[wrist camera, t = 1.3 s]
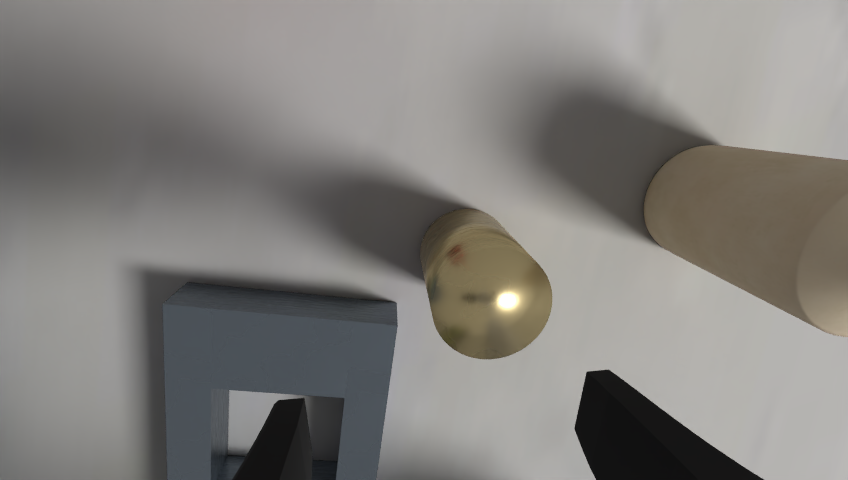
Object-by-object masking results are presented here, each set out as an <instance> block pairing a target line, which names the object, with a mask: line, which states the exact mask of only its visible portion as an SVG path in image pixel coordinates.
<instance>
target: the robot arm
mask: <svg viewBox="0 0 848 480" xmlns="http://www.w3.org/2000/svg"><path fill="white" fill-rule="evenodd" d="M574 429H575V431H576V434H577V437H578V439H579V442H580V444H581V447H582V449H583V452H584V454H585V457H586V459H587V461H588V464H589V466H590V468H591V470H592V472H593V474H594V476H595V478H596V480H764V479H762V478H760V477H759V476H757V475H755V474H754V473H752V472H751V471H749V470H748V469H746V468H744V467H743V466H741V465H740V464H738V463H737V462H735V461H734V460H732V459H731V458H729V457H728V456H726V455H725V454H723V453H722V452H720V451H719V450H717V449H716V448H715V447H713V446H712V445H710V444H709V443H707V442H706V441H704V440H703V439H702V438H700V437H699V436H697V435H696V434H695V433H693V432H692V431H690V430H689V429H688V428H686V427H685V426H683V425H682V424H681V423H679V422H678V421H677V420H675V419H674V418H673V417H671V416H670V415H669V414H667V413H666V412H665V411H663V410H662V409H661V408H659V407H658V406H657V405H655V404H654V403H653V402H651V401H650V400H649V399H647V398H646V397H645V396H643V395H642V394H641V393H639V392H638V391H637V390H636V389H634V388H633V387H632V386H630V385H629V384H628V383H626V382H625V381H624V380H622V379H621V378H620V377H618V376H617V375H615V374H614V373H613V372H611V371H610V370H601V371H590V372H587V373H586V378H585V382H584V387H583V392H582V396H581V401H580V405H579V410H578V415H577V419H576V424H575V428H574ZM312 460H313V456H312V449H311V442H310V435H309V427H308V420H307V413H306V406H305V399H304V398H298V399H288V400H278V401H277V402H276V403H275V404H274V406H273V408H272V410H271V412H270V414H269V416H268V418H267V420H266V422H265V424H264V426H263V427H262V429H261V431H260V433H259V435H258V437H257V438H256V440H255V442H254V444H253V445H252V447H251V449H250V451H249V453H248V454H247V456H246V458H245V459H244V461H243V462H242V464H241V466H240V467H239V469H238V471H237V472H236V474H235V476H234V477H233V479H232V480H311V478H312Z"/></svg>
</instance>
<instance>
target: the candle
mask: <svg viewBox="0 0 848 480" xmlns="http://www.w3.org/2000/svg"><path fill="white" fill-rule="evenodd" d="M644 219H645V223H646V226H647V229H648V231H649V233H650V235H651V236H652V237H653V239H654V240H655V241H656V242H657V243H658V244H659V245H661V246H662V247H663V248H665V249H666V250H668V251H670V252H671V253H673V254H675V255H677V256H679V257H681V258H683V259H685V260H687V261H688V262H690V263H692V264H694V265H696V266H698V267H700V268H702V269H704V270H706V271H708V272H710V273H712V274H714V275H716V276H717V277H719V278H721V279H723V280H725V281H727V282H729V283H731V284H733V285H735V286H737V287H739V288H741V289H743V290H745V291H747V292H748V293H750V294H752V295H754V296H756V297H758V298H760V299H762V300H764V301H766V302H768V303H770V304H772V305H774V306H776V307H778V308H779V309H781V310H783V311H785V312H787V313H789V314H791V315H793V316H795V317H797V318H799V319H801V320H803V321H805V322H807V323H809V324H810V325H812V326H814V327H816V328H818V329H820V330H822V331H824V332H826V333H829V334H833V335H837V336H843V337H848V160H841V159H832V158H824V157H815V156H807V155H798V154H789V153H781V152H772V151H764V150H755V149H747V148H738V147H729V146H717V145H707V146H698V147H694V148H690V149H687V150H685V151H683V152H681V153H679V154H677V155H676V156H674V157H672V158H671V159H670V160H669V161H667V162H666V163H665V164H664V165H663V166H662V167H661V168H660V170H659V171H658V172H657V173H656V175H655V176H654V178H653V179H652V181H651V183H650V185H649V187H648V190H647V193H646V196H645V201H644Z"/></svg>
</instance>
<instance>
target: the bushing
mask: <svg viewBox="0 0 848 480" xmlns="http://www.w3.org/2000/svg"><path fill="white" fill-rule="evenodd" d="M420 259H421V264H422V269H423V274H424V278H425V283H426V288H427V292H428V297H429V302H430V307H431V311H432V316H433V321H434V324H435V327H436V329H437V331H438V333H439V335H440V336H441V337H442V339H443V340H444V341H445V342H446V343H447V344H448V345H449V346H450V347H452V348H453V349H454V350H456V351H458V352H459V353H461V354H464V355H466V356H469V357H473V358H478V359H497V358H502V357H506V356H509V355H512V354H514V353H516V352H518V351H520V350H522V349H523V348H525V347H526V346H528V345H529V344H530V343H531V342H532V341H533V340H534V339H535V338H537V336H538V335H539V334H540V333H541V331H542V330H543V328H544V327H545V325H546V323H547V321H548V318H549V315H550V312H551V307H552V290H551V286H550V282H549V280H548V278H547V275H546V274H545V272H544V271H543V269H542V268H541V267H540V266H539V264H538V263H537V262H536V261H535V260H534V259H533V258H532V257H531V256H530V255H529V254H528V253H527V252H526V251H525V250H524V249H523V248H522V247H521V245H520V244H519V243H518V242H517V241H516V240H515V239H514V238H513V237H512V236H511V235H510V234H509V233H508V232H507V231H506V230H505V229H504V228H503V227H502V226H501V224H500V223H499V222H498V221H497V220H495V219H494V218H493V217H492V216H490V215H489V214H486V213H484V212H482V211H479V210H474V209H460V210H455V211H452V212H449V213H447V214H445V215H443V216H441V217H440V218H438V219H437V220H436V221H435V222H434V223H433V224H432V225H431V226H430V227H429V229H428V230H427V231H426V233H425V235H424V237H423V240H422V243H421V248H420Z"/></svg>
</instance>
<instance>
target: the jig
mask: <svg viewBox="0 0 848 480" xmlns="http://www.w3.org/2000/svg"><path fill="white" fill-rule="evenodd" d="M162 306H163V342H164V377H165V413H166V449H167V480H232V479H233V477H234V476H235V474H236V472H237V471H238V469H239V467H240V466H241V464H242V462H243V461H244V459H245V458H246V457H241V456H228V411H229V390H238V391H252V392H266V393H280V394H295V395H309V396H323V397H337V398H344V408H343V417H342V427H341V436H340V445H339V455H338V462H334V461H315V460H312V478H311V480H376V477H377V470H378V462H379V455H380V448H381V441H382V434H383V426H384V419H385V412H386V405H387V397H388V390H389V383H390V376H391V369H392V361H393V354H394V347H395V340H396V333H397V303H394V302H384V301H374V300H363V299H353V298H343V297H332V296H322V295H312V294H301V293H291V292H281V291H270V290H260V289H250V288H240V287H229V286H219V285H209V284H198V283H188V282H187V283H186V284H185V285H184V286H183V287H182V288H180V289H179V290H178V291H177V292H176V293H175V294H174V295H172V296H171V297H170V298H169V299H168V300H167V301H166V302H164V303H163V304H162Z"/></svg>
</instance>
